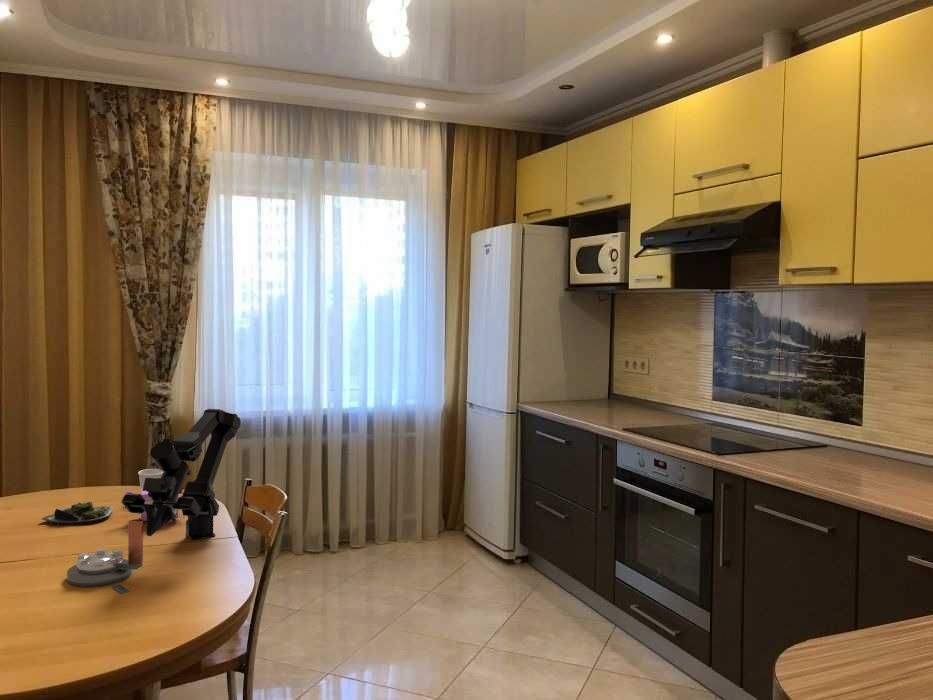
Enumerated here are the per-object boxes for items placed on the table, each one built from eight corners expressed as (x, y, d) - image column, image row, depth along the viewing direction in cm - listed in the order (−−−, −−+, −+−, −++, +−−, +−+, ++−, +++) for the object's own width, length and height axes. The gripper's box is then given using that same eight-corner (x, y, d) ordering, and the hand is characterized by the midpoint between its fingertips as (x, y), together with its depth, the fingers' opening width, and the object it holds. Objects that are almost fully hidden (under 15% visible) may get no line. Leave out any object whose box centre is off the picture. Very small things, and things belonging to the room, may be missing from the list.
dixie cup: (146, 497, 242) (146, 468, 241) (169, 498, 241) (170, 469, 241) (132, 503, 234) (132, 473, 233) (156, 504, 233) (156, 474, 232)
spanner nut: (66, 572, 167) (66, 523, 166) (93, 558, 177) (93, 512, 176) (129, 577, 165) (130, 527, 165) (153, 562, 175) (153, 515, 175)
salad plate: (59, 509, 226) (59, 495, 226) (120, 507, 230) (120, 493, 230) (37, 528, 207) (37, 512, 207) (103, 525, 211) (103, 510, 211)
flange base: (124, 561, 181) (124, 554, 181) (147, 587, 165) (147, 579, 165) (61, 573, 172) (61, 565, 172) (80, 602, 156) (79, 593, 156)
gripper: (125, 462, 181) (98, 517, 171) (195, 465, 179) (172, 521, 169) (142, 485, 189) (118, 539, 179) (209, 489, 187) (188, 543, 177)
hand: (148, 535), depth 176 cm, fingers closed
